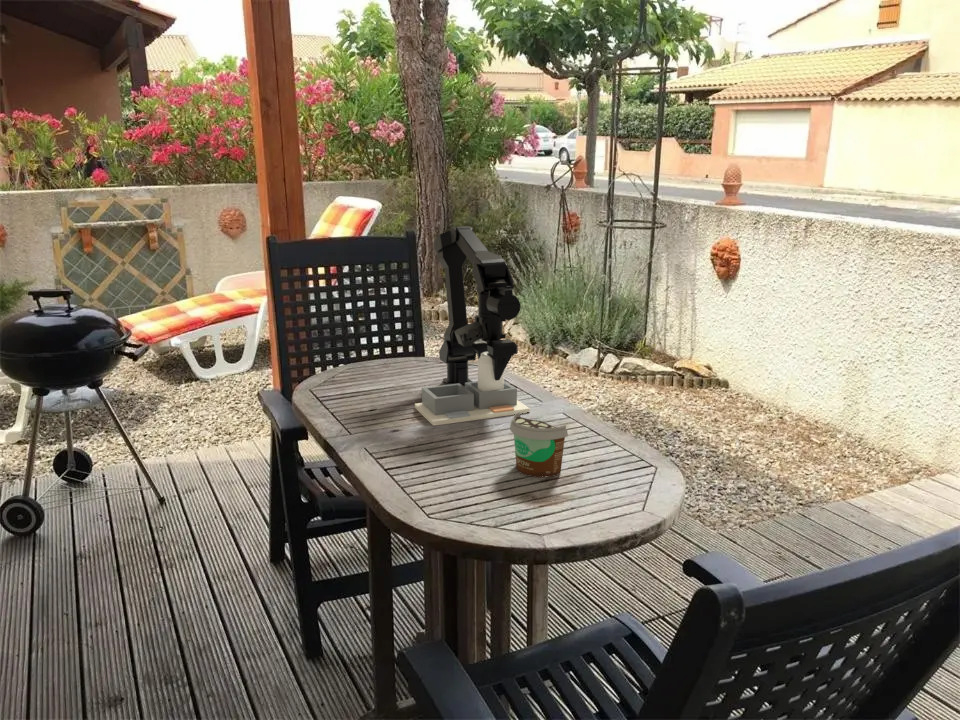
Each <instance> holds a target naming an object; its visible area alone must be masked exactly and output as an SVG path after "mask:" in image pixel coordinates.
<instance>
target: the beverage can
mask: <svg viewBox="0 0 960 720" xmlns="http://www.w3.org/2000/svg"><path fill="white" fill-rule="evenodd" d="M486 353H488V352H483V353H481V356H480V358H479V360H478V359H477V381H478V389H479V390H480V391H481V392H484V391H492V390H501V389H504V381H505V378H504V377H505V375H504V374H505V371H504V372H503V374H502V376H501V378H500V380H495V378H494V371H493V364H492V359H491V358H490V357H489V356H488V355H487V354H486Z"/></svg>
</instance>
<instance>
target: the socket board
mask: <svg viewBox="0 0 960 720" xmlns="http://www.w3.org/2000/svg"><path fill="white" fill-rule="evenodd" d="M421 399H422V400H421V401H422V402H418V403H414V409H415V410H417V411H418V412H419V414H420V415H422V416H423V417H424V419H426V420H427V421H428V422H429V423H430V424H431V425H432V426H441V425H449V424H455V423H463V422H469V421H476V420H485V419H492V418H499V417H506V416H514V414H517V413H519V412H520V415H521V414H522V413H523V414H528V413H527V412H530V413H531V408H530V407H528V406H527V405H525V404H524V403H523V402H521V401H519V400H518V388H517V387H515V386H514V385H512V384H510V383H509V382H507V381H505V380H504V389H501V390H492V391H484V392H481V391H480V390H479V389H478V380H477V381H473V382H466V383H465V385H461V384H460V383H458V384H449V385H448V384H443V385H441V384H440V385H433V386H425V387H421Z"/></svg>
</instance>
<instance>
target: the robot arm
mask: <svg viewBox="0 0 960 720" xmlns="http://www.w3.org/2000/svg"><path fill="white" fill-rule="evenodd" d="M433 248H434V251H435V252H436V259H437V260H438V262H439V264H440V265H441V267H443V269H444V280H445V281H444V282H445V291H446V302H447V303H446V304H447V313H448V315H447V316H448V325H447V328H446V329H445V332H444V334H443V342H442V345H441V347H440V349H439V352H438V355H439V360H440V362H443V363H444V364H446V378H442V381H443V382H444V383H446V385H449V384H458V383H460V384H461V385H462V386H465V383H466V382H474V381H472V380H471V379H470V378H469V361H476V358H477V361H478V360H479V358H480V356H481V353H483V352H488V353H486V354H487V355H488V356H489V357H490V358H491V359H492V364H493V371H494V378H495V380H500V378H501V376H502V374H503V372H504V373H505V370H506V368H507V366H508V363H510V361H511V359H512V358H513V356H515V355H517V354H519V353H518V352H519V351H518V350H519V349H518V348H519V347H518V344H517V343H516V342H515V341H513V340H511V339H509V338H507V337H506V335H507V334H506V333H504V332H503V331H504V330H503V325H504V324H503V322H506V321H510V320H511V321H512V320H514V319H515V318H517V316H518V315H519V313H520V312H521V307H522V306H521V303H520V300H519V299H518V297H517V296H515V295H514V293H513V291H514V288H515V287H514V279H513V276H512V275H511V272H510V269H509V266H508V264H507V262H506V261H505V259H504V258H503V257H501V256H500V255H499V254H497V253H493V252H491V251H489V250H488V249H487V247H486V246H485V244H484V243H483V242H482V241H481V240H480V238H479V237H478V236H477V235H476V234H475V230H474V228H473V226H470V225H466V226H463V225H462V226H454V227H452V228H451V229H450V230H447V231H444V232H442V233H439V234H438V235H437V237H435V239H434V242H433ZM467 259H468V261H470V263H471V265H472V270H471V274H472V276H473V278H474V281H475V283H476V285H477V286H476V287H475V290H476V291H477V292H478V294H477V295H478V298H477V299H478V300H477V301H478V304H477V308H478V309H477V312H478V314H475V316H474V319H473V321H474V322H471V323H468V316H467V315H468V314H467V305H466V304H467V303H466V292H465V282H464V281H465V280H464V271H463V270H464V269H463V267H464V264H465V262H466V261H467Z"/></svg>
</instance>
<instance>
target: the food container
mask: <svg viewBox="0 0 960 720" xmlns="http://www.w3.org/2000/svg"><path fill="white" fill-rule="evenodd" d="M509 430H510V432H511V433H512V434H513V440H514V441H513V442H514V452H515V454H514V455H515V464H516V465H515V466H516V470H517V472H519V473H520V472H521V473H520V474H522V473H523V474H522V475H525V476H528V475H531V476H530V477H533V476H536V477H535V478H546V477H545V476H551V477H554V476H553V475H555V476H558V475H560V474H559V473H561V472H562V463H563V454H564V447H565V438H566V437H568V436H569V434H568V428H567V425H566V424H565V425H561V426H558V427H557V426H553V425H551V424H550V423H546V422H544V421H542V420H536V419H529V418H525V417H521V414H520V412H519V413H517V414H515V415H512V419H511V421H510V426H509ZM557 474H558V475H557ZM542 476H543V477H542Z"/></svg>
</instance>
